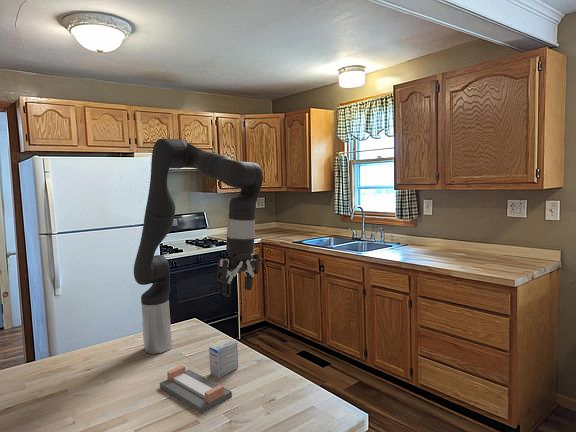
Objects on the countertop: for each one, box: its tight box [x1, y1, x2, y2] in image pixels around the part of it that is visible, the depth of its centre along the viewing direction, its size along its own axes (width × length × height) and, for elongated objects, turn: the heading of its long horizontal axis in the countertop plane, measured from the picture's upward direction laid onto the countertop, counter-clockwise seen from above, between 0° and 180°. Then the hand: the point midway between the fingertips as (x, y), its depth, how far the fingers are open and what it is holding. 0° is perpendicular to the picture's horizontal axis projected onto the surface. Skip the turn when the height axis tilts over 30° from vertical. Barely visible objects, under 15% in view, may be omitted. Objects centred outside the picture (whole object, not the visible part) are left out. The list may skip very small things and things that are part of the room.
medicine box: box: [208, 338, 239, 379], centre depth 122 cm, size 8×4×9 cm, turn 141°
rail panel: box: [159, 365, 233, 414], centre depth 111 cm, size 20×10×4 cm, turn 48°
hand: (237, 292), depth 110 cm, fingers open, 8 cm apart
